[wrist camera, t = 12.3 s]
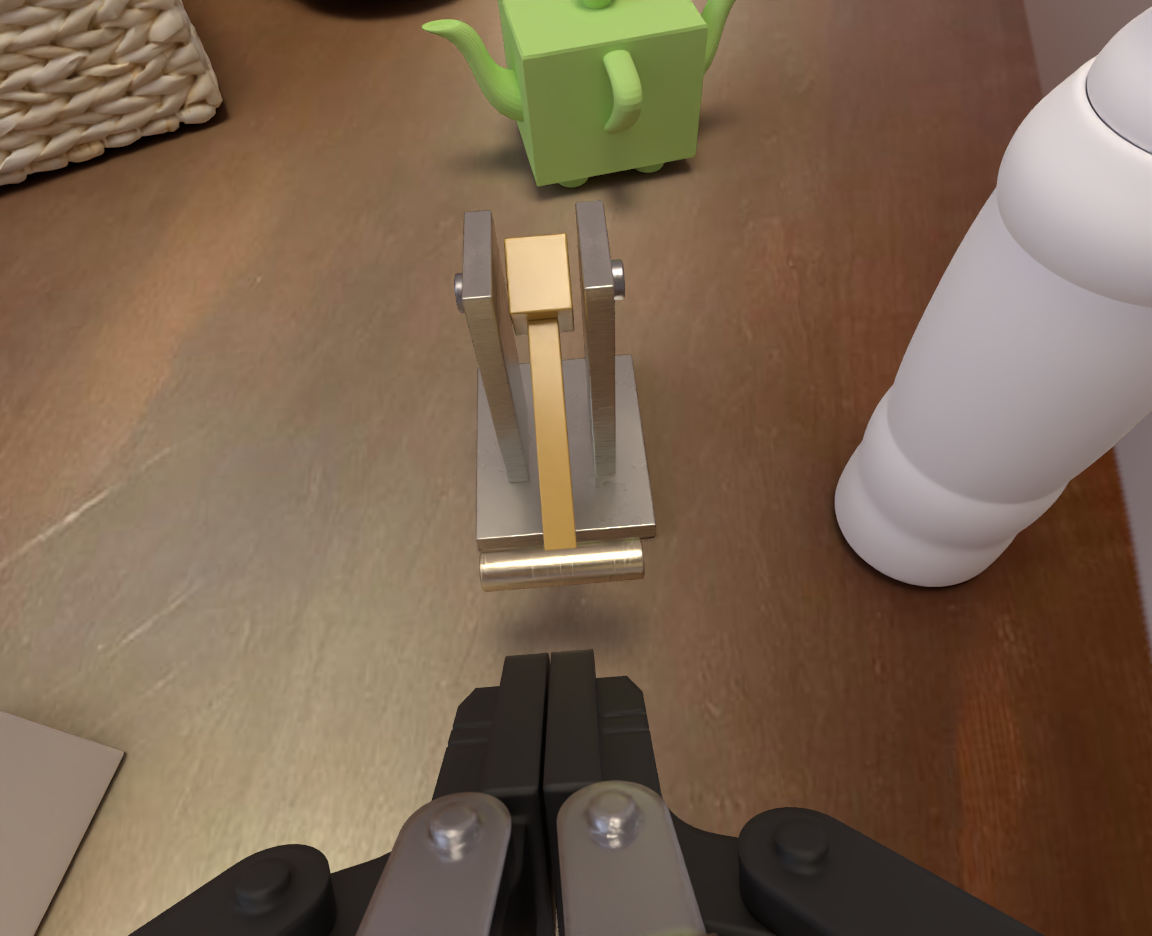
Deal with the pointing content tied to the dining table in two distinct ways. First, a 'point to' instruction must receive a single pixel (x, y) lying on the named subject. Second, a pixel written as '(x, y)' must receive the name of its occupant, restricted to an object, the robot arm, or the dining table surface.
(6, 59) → the basket
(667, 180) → the dining table surface
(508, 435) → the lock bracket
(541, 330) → the lever
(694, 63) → the teapot
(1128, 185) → the water bottle
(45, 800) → the milk carton
